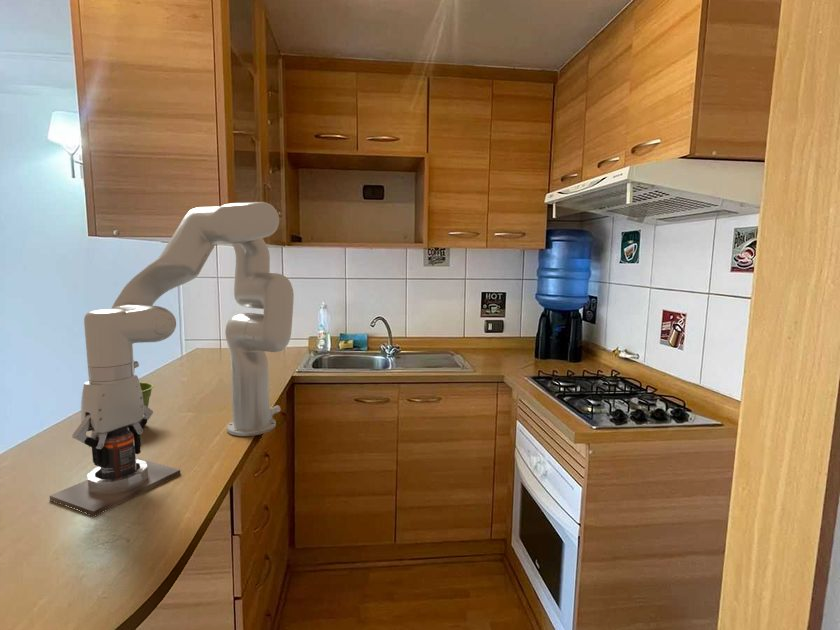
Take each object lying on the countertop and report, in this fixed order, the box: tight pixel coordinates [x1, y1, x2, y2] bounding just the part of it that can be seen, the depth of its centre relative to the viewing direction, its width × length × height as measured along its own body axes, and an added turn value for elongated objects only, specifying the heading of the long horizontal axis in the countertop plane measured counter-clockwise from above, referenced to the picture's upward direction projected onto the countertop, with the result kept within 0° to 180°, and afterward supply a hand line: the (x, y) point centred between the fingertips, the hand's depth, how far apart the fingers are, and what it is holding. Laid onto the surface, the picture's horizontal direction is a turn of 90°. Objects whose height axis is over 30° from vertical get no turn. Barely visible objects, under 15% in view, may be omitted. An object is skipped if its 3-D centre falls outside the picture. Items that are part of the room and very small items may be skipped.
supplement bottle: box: [101, 426, 137, 479], centre depth 93 cm, size 6×6×11 cm
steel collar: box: [86, 458, 148, 495], centre depth 94 cm, size 10×10×2 cm
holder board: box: [49, 458, 181, 517], centre depth 94 cm, size 18×13×1 cm
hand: (118, 458), depth 93 cm, fingers closed on supplement bottle, 6 cm apart
